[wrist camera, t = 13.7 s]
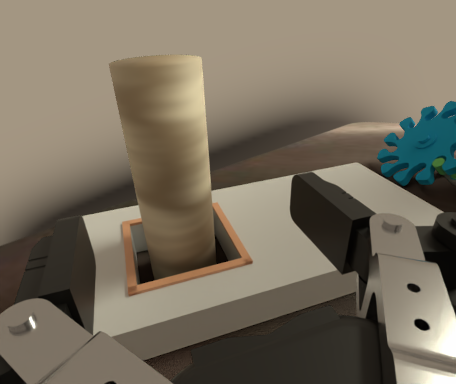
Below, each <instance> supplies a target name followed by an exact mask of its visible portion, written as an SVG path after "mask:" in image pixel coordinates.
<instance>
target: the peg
mask: <svg viewBox="0 0 456 384" xmlns="http://www.w3.org/2000/svg"><path fill="white" fill-rule="evenodd" d="M109 66H110V72H111V77H112V81H113V86H114V91H115V96H116V100H117V105H118V109H119V114H120V119H121V124H122V128H123V134H124V138H125V143H126V148H127V153H128V157H129V162H130V167H131V171H132V176H133V181H134V185H135V191H136V195H137V200H138V205H139V210H140V214H141V219H142V224H143V229H144V233H145V238H146V243H147V248H148V252H149V257H150V262H151V267H152V271H153V276H154V280H159V279H162V278H166V277H170V276H174V275H178V274H182V273H185V272H189V271H193V270H197V269H201V268H205V267H208V266H212V265H216V264H217V262H216V248H215V235H214V221H213V207H212V194H211V180H210V166H209V153H208V140H207V126H206V112H205V98H204V84H203V70H202V58H201V57H198V56H193V55H156V56H144V57H135V58H128V59H122V60H117V61H114V62H111V63H110V64H109Z"/></svg>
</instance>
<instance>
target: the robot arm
mask: <svg viewBox="0 0 456 384" xmlns="http://www.w3.org/2000/svg"><path fill="white" fill-rule="evenodd" d="M290 215H291V218H292V220H293V222H294V223H295V224H296V225H297V226H298V227H299V228H300V229H301V231H302V232H303V233H304V234H305V235H306V236H307V237H308V238H309V239H310V240H311V241H312V243H313V244H314V245H315V246H316V247H317V248H318V249H319V250H320V251H321V252H322V253H323V254H324V256H325V257H326V258H327V259H328V260H329V261H330V262H331V263H332V264H333V265H334V266H335V268H336V269H337V270H338V271H339V272H340V273H341V274H342V275H343V274H347V273H350V272H353V271H356V272H357V273H358V274H357V278H356V311H357V317H355V316H344V315H337V313H336V312H335V311H334V310H333V308H332V307H331V306H330V305H328V306H325V307H322V308H319V309H316V310H313V311H310V312H307V313H304V314H300V315H298V316H297V317H295V318H294V319H292V320H290V321H289V322H287V323H286V324H284V325H283V326H281V327H280V328H278V329H277V330H275V331H274V332H272V333H270V334H267V335H257V336H244V337H231V338H226V339H223V340H220V341H217V342H213V343H210V344H207V345H204V346H201V347H198V348H195V349H192V350H191V356H192V362H193V363H191V364H190V365H188V366H187V367H185V368H184V369H183V370H182V371H181V372H179V373H178V374H177V375H176V376H175V377H174V378H173V379H172V380H171V381H169V380H168V379H166V378H165V377H164V376H162V375H161V374H160V373H158V372H157V371H156V370H154V369H153V368H152V367H150V366H149V365H148V364H146V363H145V362H144V361H142V360H141V359H140V358H138V357H137V356H136V355H134V354H133V353H132V352H130V351H129V350H128V349H126V348H125V347H124V346H122V345H121V344H120V343H118V342H117V341H116V340H114V339H113V338H112V337H110V336H109V335H108V334H106V333H104V332H102V331H99V332H98V333H96V334H95V335H94V336H93V325H94V303H95V280H96V262H95V256H94V251H93V248H92V245H91V242H90V238H89V235H88V232H87V229H86V226H85V222H84V219H83V217H82V216H81V215H80V216H75V217H70V218H64V219H59V220H57V221H56V225H55V229H54V233H53V236H48V237H43V238H42V239H41V240H40V241H39V242H38V243H37V244H36V245H35V246H34V247H33V248H32V250H31V253H30V257H29V260H28V261H29V262H28V263H27V266H26V269H25V270H26V272H24V275H23V278H22V281H21V284H20V287H19V290H18V293H17V296H16V299H15V303H14V305H13V306H11V307H9V308H8V309H6V310H5V311H4V312H2V313H1V314H0V384H456V213H455V212H444V213H440V214H438V215H437V217H436V220H435V222H434V225H433V226H415V225H414V224H413V223H412V222H411V221H409V220H408V219H406V218H404V217H402V216H399V215H395V214H391V213H379V214H376V213H375V212H374V211H372V210H371V209H369V208H368V207H367V206H365V205H364V204H363V203H361V202H360V201H358V200H357V199H356V198H353V196H351V195H350V194H349V193H346V191H344V190H343V189H342V188H340V187H339V186H337V185H335V184H332V183H330V182H327V181H324V180H323V179H322V178H320V177H319V176H318V175H316V174H315V173H313V172H308V173H302V174H297V175H294V176H293V178H292V183H291V196H290Z"/></svg>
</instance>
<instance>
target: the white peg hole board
mask: <svg viewBox="0 0 456 384" xmlns="http://www.w3.org/2000/svg"><path fill="white" fill-rule="evenodd" d="M311 172H313V173H315V174H316V175H318V176H319V177H320V178H322V179H323V180H324V181H327V182H330V183H332V184H335V185H337V186H339V187H340V188H342V189H343V190H344V191H346V193H349V194H350V195H351V196H353V198H356V199H357V200H358V201H360V202H361V203H363V204H364V205H365V206H367V207H368V208H369V209H371V210H372V211H374V212H375V213H376V214H379V213H391V214H395V215H399V216H402V217H404V218H406V219H408V220H409V221H411V222H412V223H413V224H414V225H415V226H433V225H434V222H435V220H436V217H437V215H438V214H440V213H444V212H443V211H441V210H439V209H437V208H436V207H434V206H432V205H430V204H429V203H427V202H425V201H423V200H422V199H420V198H418V197H417V196H415V195H413V194H411V193H410V192H408V191H406V190H404V189H403V188H401V187H399V186H397V185H396V184H394V183H392V182H390V181H389V180H387V179H385V178H383V177H382V176H380V175H378V174H377V173H375V172H373V171H371V170H370V169H368V168H366V167H364V166H363V165H361V164H359V163H352V164H347V165H342V166H337V167H331V168H326V169H321V170H316V171H311ZM306 173H308V172H306ZM301 174H302V173H301ZM296 175H297V174H296ZM293 176H294V175H291V176H285V177H280V178H275V179H270V180H265V181H260V182H255V183H250V184H245V185H239V186H234V187H229V188H224V189H219V190H214V191H211V194H212V207H213V221H214V234H215V235H216V237H217V239H218V241H219V243H220V245H221V247H222V249H223V251H224V253H225V255H226V257H227V259H228V262H224V263H220V264H216V265H212V266H208V267H205V268H201V269H197V270H193V271H189V272H185V273H182V274H178V275H174V276H170V277H166V278H162V279H159V280H155V281H151V282H147V283H143V284H140V278H139V271H138V263H137V255H136V252H140V251H145V250H148V248H147V243H146V238H145V233H144V229H143V224H142V219H141V214H140V210H139V205H137V206H132V207H127V208H122V209H117V210H112V211H106V212H101V213H96V214H91V215H86V216H82V217H83V219H84V222H85V226H86V229H87V232H88V235H89V238H90V242H91V245H92V248H93V251H94V256H95V262H96V280H95V303H94V325H93V336H94V335H95V334H96V333H98V332H99V331H102V332H104V333H106V334H108V335H109V336H110V337H112V338H113V339H114V340H116V341H117V342H118V343H120V344H121V345H122V346H124V347H125V348H126V349H128V350H129V351H130V352H132V353H133V354H134V355H136V356H137V357H138V358H140V359H141V360H142V361H143V360H146V359H150V358H153V357H156V356H159V355H162V354H165V353H168V352H171V351H174V350H177V349H180V348H184V347H187V346H190V345H193V344H196V343H199V342H202V341H205V340H208V339H211V338H214V337H218V336H221V335H224V334H227V333H230V332H233V331H236V330H239V329H242V328H245V327H248V326H252V325H255V324H258V323H261V322H264V321H267V320H270V319H273V318H276V317H279V316H282V315H286V314H289V313H292V312H295V311H298V310H301V309H304V308H307V307H310V306H313V305H316V304H320V303H323V302H326V301H329V300H332V299H335V298H338V297H341V296H344V295H347V294H350V293H354V292H356V278H357V274H358V273H357V272H356V271H353V272H350V273H347V274H343V275H342V274H341V273H340V272H339V271H338V270H337V269H336V268H335V266H334V265H333V264H332V263H331V262H330V261H329V260H328V259H327V258H326V257H325V256H324V254H323V253H322V252H321V251H320V250H319V249H318V248H317V247H316V246H315V245H314V244H313V243H312V241H311V240H310V239H309V238H308V237H307V236H306V235H305V234H304V233H303V232H302V231H301V229H300V228H299V227H298V226H297V225H296V224H295V223H294V222H293V220H292V218H291V215H290V196H291V183H292V178H293Z"/></svg>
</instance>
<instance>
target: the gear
mask: <svg viewBox="0 0 456 384" xmlns="http://www.w3.org/2000/svg"><path fill="white" fill-rule="evenodd" d="M437 113H438V112H437V110H436V109H435V107H434V106H430V107H426V108H423V109H422V111H421V115H422V116H421V119H420V121H419V123H418V124H417V125H416V126H415V123H414V121H413V120H412V118H411V117H409V118H406V119H404V120H403V121H401V122H400V126H401V127H402V129H403V130H404V131H405V133H404V137H403V138H401V139H399V138H398V137H397V136H396V135H395V133H390V134H389V135H388V136H387V137H386V138H385V139H384V141H385V142H386V144H387V145H388V146H396V147H398V148H397V150H396V151H394V152H392V153H390V152H388V150H387V149H382V150H381V151H380V152H379V154H378V157H377V158H378V159H379V161H380V162H382V163H385V162H388V161H391V160H398V161H397V162H396V163H394V164H390V163H385V164H383V165H382V166H381V171H382V173H383V175H384V176H385V177H390V176H392V175H393V174H394V173H396V172H397V171H399V170H401V169H404V168H407V169H406V170H404V171H400V172H397V173H396V174H395V175H394V176H393V178H394V179H395V180H396V181H397V182H398V183H399V184H400V185H402V186H405V185H407V184H408V183H409V181H410V179H411V178H412V176H413V175H414V174H415V173H417V172H418V171H420V170H421V169H423V168H425V169H424V170H422V171H421V172H419V173H418V174H417V175H416V180H417V181H418V182H419V184H422V185H430V184H432V183H433V182H434V171H435V169H436V170H437V171H438V173H439V174H441V175H444V176H445V177H446V179H447V180H448V181H449V182H450V183H451V184H452V185H454V186H456V159H454V152H455V150H456V102H453V101H450V102H448V103H447V104H446V105H445V106H444V108H443V110H442V111H441V112H440V113H439V114H438V115H437ZM436 115H437V116H436ZM453 115H455V116H453ZM435 116H436V117H435ZM450 116H452V117H450ZM448 117H449V118H448ZM432 118H433V119H432ZM414 126H415V127H414ZM413 127H414V128H413Z"/></svg>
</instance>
